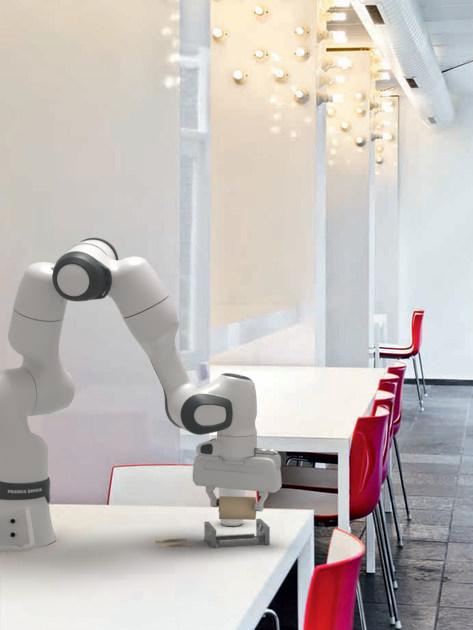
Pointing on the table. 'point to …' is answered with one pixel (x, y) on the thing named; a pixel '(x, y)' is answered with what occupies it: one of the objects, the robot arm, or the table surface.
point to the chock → (172, 541)
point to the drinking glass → (234, 494)
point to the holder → (237, 537)
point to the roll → (237, 508)
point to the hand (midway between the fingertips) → (236, 508)
